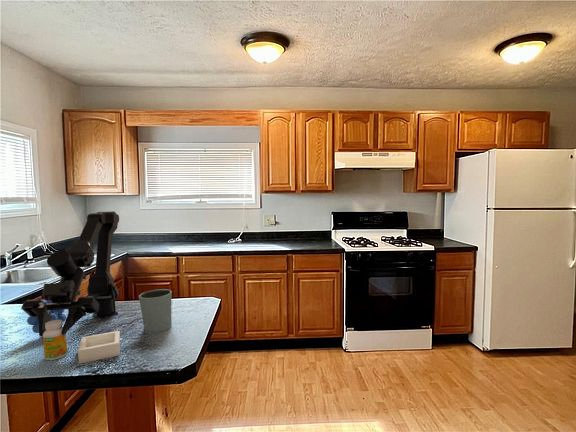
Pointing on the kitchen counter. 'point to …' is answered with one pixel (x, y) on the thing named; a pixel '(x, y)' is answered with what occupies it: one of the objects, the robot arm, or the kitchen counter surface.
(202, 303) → the kitchen counter surface
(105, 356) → the cream square tray
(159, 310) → the grey green cup
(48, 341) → the supplement bottle
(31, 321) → the grapes
